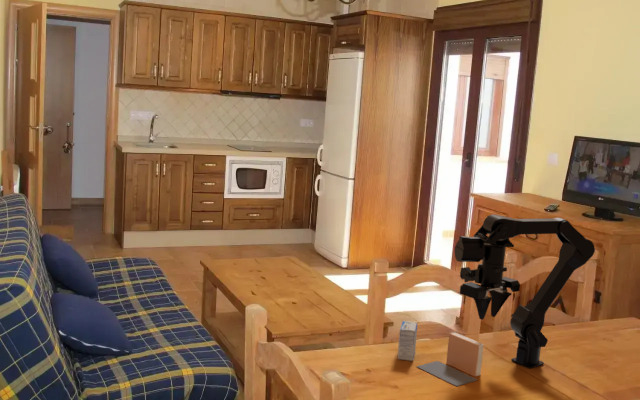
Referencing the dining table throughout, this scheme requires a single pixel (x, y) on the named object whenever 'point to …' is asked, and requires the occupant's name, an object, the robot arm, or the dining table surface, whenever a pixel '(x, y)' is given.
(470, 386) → the dining table surface
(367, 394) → the dining table surface
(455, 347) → the tile
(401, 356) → the medicine box
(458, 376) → the grey mat
